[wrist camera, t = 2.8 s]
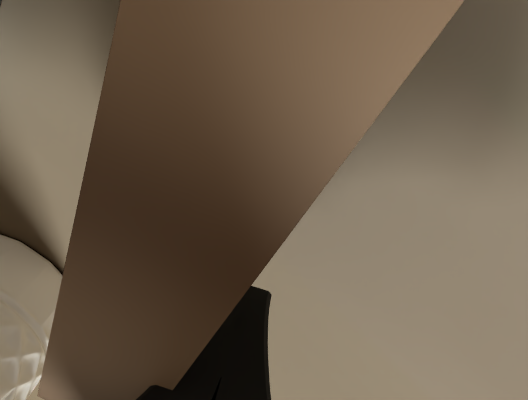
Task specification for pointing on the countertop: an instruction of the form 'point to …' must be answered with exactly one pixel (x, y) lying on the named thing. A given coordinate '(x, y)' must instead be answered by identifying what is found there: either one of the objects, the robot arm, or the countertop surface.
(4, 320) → the white cup
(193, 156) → the picture frame
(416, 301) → the countertop surface
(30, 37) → the countertop surface
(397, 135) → the countertop surface
